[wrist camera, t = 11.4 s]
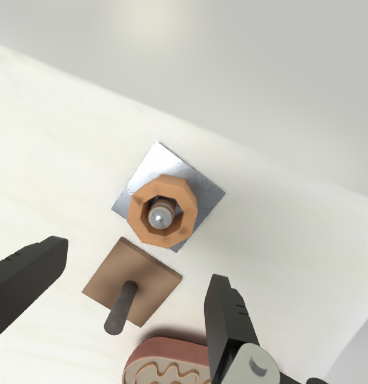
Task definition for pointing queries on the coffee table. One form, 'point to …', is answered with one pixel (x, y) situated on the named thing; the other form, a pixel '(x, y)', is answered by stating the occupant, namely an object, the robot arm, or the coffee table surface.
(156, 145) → the silver peg on base
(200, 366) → the anatomical model
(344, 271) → the coffee table surface
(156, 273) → the stand
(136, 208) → the collar
